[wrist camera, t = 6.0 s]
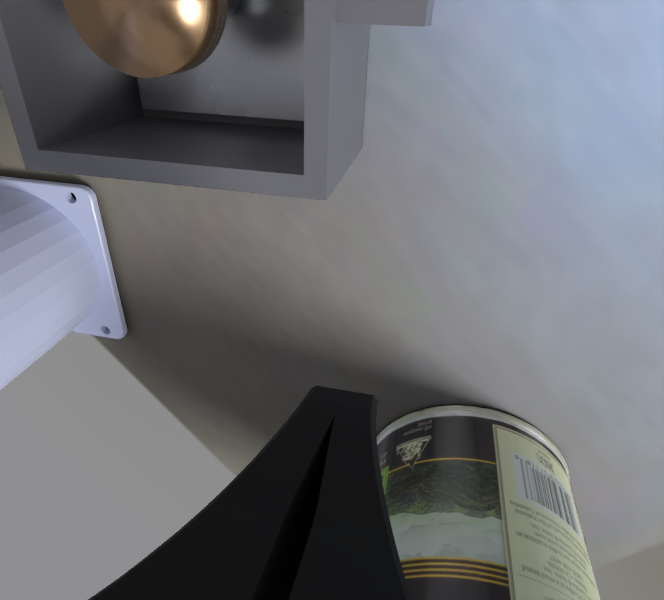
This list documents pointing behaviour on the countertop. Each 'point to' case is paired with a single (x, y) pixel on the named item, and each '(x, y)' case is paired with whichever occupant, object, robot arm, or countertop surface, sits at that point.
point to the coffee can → (482, 508)
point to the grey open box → (187, 127)
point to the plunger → (203, 52)
